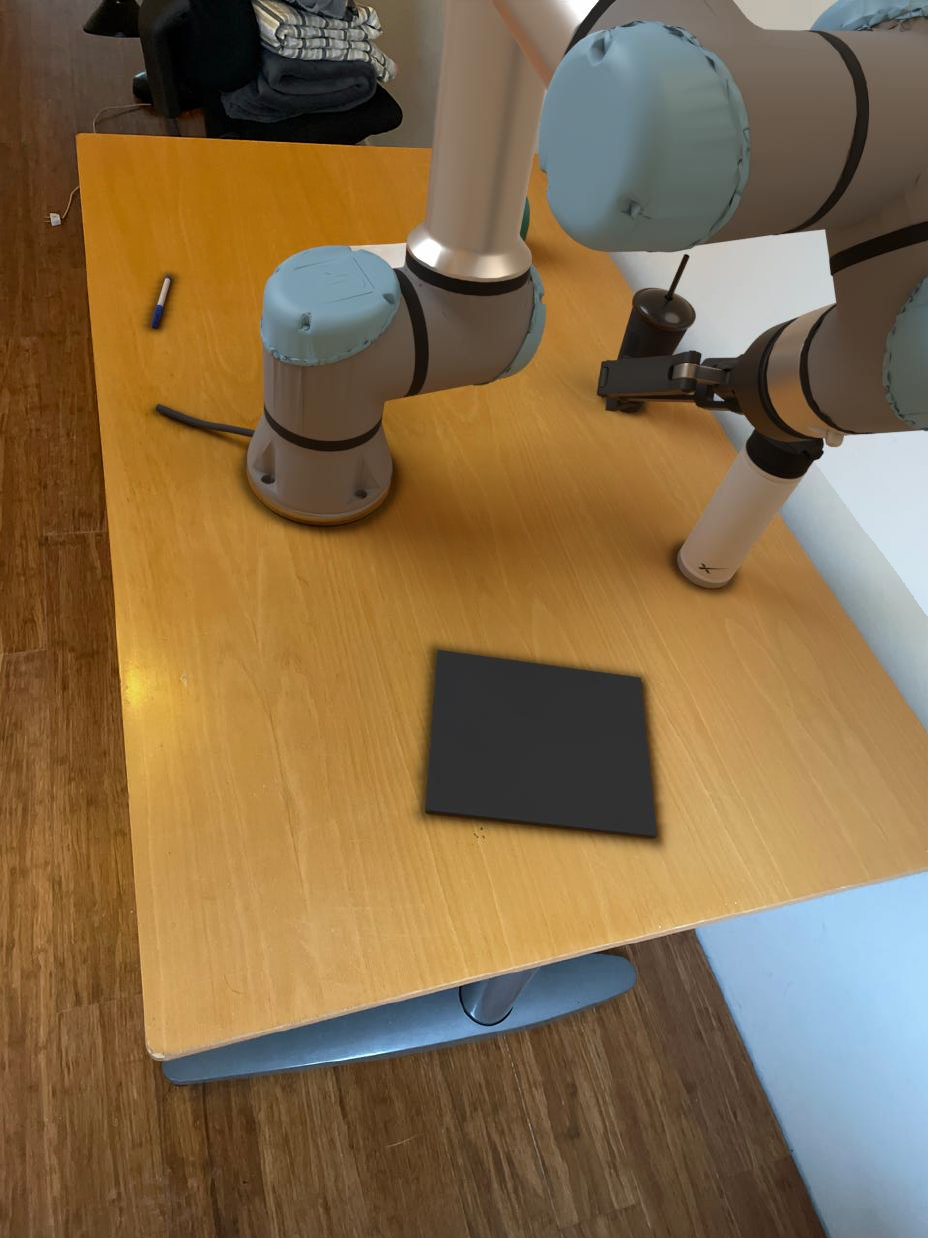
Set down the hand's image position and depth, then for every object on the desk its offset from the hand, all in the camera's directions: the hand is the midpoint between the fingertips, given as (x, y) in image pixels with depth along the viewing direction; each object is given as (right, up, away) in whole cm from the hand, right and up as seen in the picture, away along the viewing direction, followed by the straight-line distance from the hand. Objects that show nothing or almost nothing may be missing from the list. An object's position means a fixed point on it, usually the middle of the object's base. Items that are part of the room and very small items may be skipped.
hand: (687, 406), depth 70 cm
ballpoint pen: (-56, +20, +30) cm, 67 cm away
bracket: (-17, +42, +54) cm, 70 cm away
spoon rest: (-28, +25, +39) cm, 54 cm away
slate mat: (-12, -29, +3) cm, 32 cm away
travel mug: (+7, -13, +20) cm, 25 cm away
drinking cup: (+1, +10, +35) cm, 37 cm away
